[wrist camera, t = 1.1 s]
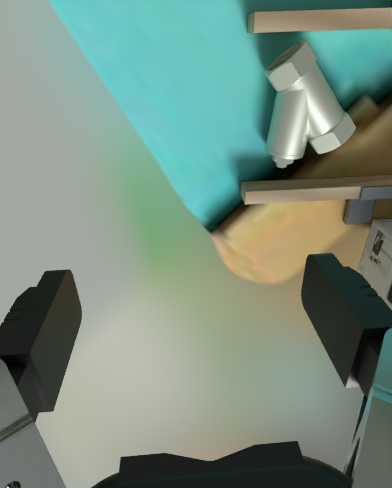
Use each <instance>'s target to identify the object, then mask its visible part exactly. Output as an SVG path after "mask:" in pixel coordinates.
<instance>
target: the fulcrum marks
mask: <svg viewBox="0 0 392 488" xmlns="http://www.w3.org/2000/svg"><path fill="white" fill-rule="evenodd" d="M390 8H392V2H391V6H390ZM376 199H392V185H382V186H362V188H361V193H360V197H359V199H348V200H347V205H346V209H345V214H344V218H343V222H344V223H345V224H346V225H350V224H370V220H371V216H372V212H373V209H374V205H375V201H376Z"/></svg>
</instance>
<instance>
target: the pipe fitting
mask: <svg viewBox="0 0 392 488" xmlns="http://www.w3.org/2000/svg"><path fill="white" fill-rule="evenodd" d="M316 61H317V58H316V56H315V54H314V52H313V50H312V49H311V47H310V45H309V43H307V42H306V41H304V40H303V41H300V42H297V43H296V44H294V45H292V46H291V47H289V48H288V49H287V50H285V51H284V52H283V53H281V54H280V55H279V56H278V57H277V58H276V59H275V60H274V61H273V62H272V63H271V64H270V65H269V66H268V67H267V69H266V70H265V72H264V74H265V75H266V77H267V78H268V80H269V81H270V83H271V85H272V86H273V87H274V89H275V90H276V91H277V95H276V99H275V104H274V109H273V114H272V119H271V124H270V129H269V134H268V138H267V143H266V148H265V151H266V152H267V153H268V154H270V155H272V160H273V161H274V162H276V166H277V167H279V168H285V167H286V166H287V164H291V163H293V161H294V159H300V158H302V157H303V155H304V151H305V147H306V144H307V140H308V141H309V143H310V144H311V146H312V147H313V148H314V150H315V151H316V152H317V153H318V154H322V153H326V152H329V151H332V150H334V149H336V148H337V147H339V146H341V145H342V144H343V143H345V142H346V141H347V140H348V139H349V138H350V137H351V135H352V134H353V132H354V131H355V129H356V127H355V125H354V123H353V122H352V120H351V118H350V116H349V115H348V114H347V113H346V112H345V111H343V109H342V108H341V106H340V104H339V102H338V101H337V99H336V97H335V95H334V93H333V92H332V90H331V88H330V86H329V85H328V83H327V81H326V79H325V78H324V76H323V74H322V72H321V71H320V69H319V67H318V65H317V64H316Z"/></svg>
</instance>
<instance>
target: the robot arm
mask: <svg viewBox="0 0 392 488" xmlns="http://www.w3.org/2000/svg"><path fill="white" fill-rule="evenodd" d="M301 297H302V303H303V307H304V309H305V311H306V312H307V315H308V317H309V318H310V320H311V322H312V324H313V326H314V328H315V330H316V332H317V334H318V336H319V338H320V340H321V342H322V344H323V346H324V347H325V349H326V351H327V353H328V355H329V357H330V359H331V361H332V363H333V365H334V367H335V368H336V370H337V372H338V374H339V376H340V378H341V380H342V382H343V384H344V386H345V388H351V387H360V388H361V389H362V391H363V393H364V395H363V398H362V401H361V404H360V409H359V413H358V416H357V420H356V424H355V428H354V432H353V436H352V440H351V444H350V448H349V451H348V456H347V459H346V462H345V465H344V468H343V472H341V471H339V470H337V469H336V468H334V467H332V466H330V465H328V464H326V463H324V462H321V461H319V460H316V459H313V458H310V457H306V456H302V454H301V450H300V447H299V445H298V441H292V442H281V443H270V444H259V445H254V446H251V447H248V448H246V449H243V450H240V451H238V452H236V453H233V454H230V455H228V456H225V457H223V458H220V459H218V460H214V461H204V460H199V459H193V458H189V457H183V456H178V455H173V454H167V453H161V454H150V455H138V456H128V457H121V460H120V469H119V473H116V474H114V475H111V476H109V477H108V478H106V479H104V480H102V481H100V482H99V483H97V484H96V485H95V486H93V487H91V488H392V310H391V309H390V307H389V306H388V305H387V304H386V303H385V302H384V300H383V299H382V298H381V297H380V296H378V293H377V292H376V291H375V290H374V289H373V288H371V285H370V284H369V283H368V281H367V280H366V279H365V278H364V277H363V275H361V274H360V273H358V272H357V271H355V270H353V269H351V268H350V267H343V266H342V264H341V263H340V262H339V261H338V259H337V258H336V257H335V256H334V255H333V254H332V253H325V254H310V255H308V257H307V260H306V265H305V271H304V277H303V283H302V290H301ZM81 318H82V310H81V304H80V300H79V296H78V292H77V289H76V285H75V281H74V278H73V274H72V272H71V270H54V271H45V272H44V274H43V276H42V278H41V280H40V281H39V283H38V285H37V287H30V288H28V289H27V290H26V291H25V292H23V293H22V294H21V295H20V296H19V297H17V299H16V300H15V302H14V304H13V306H12V307H11V309H10V312H8V314H7V316H6V317H5V319H4V322H2V324H1V326H0V488H66V486H65V484H64V482H63V480H62V478H61V476H60V474H59V472H58V470H57V468H56V466H55V464H54V462H53V460H52V458H51V456H50V454H49V452H48V450H47V448H46V445H45V443H44V441H43V439H42V437H41V435H40V433H39V431H38V429H37V427H36V425H35V422H36V419H37V416H38V413H39V412H51V411H53V410H54V407H55V404H56V401H57V397H58V394H59V391H60V388H61V385H62V381H63V378H64V375H65V372H66V369H67V365H68V362H69V359H70V356H71V353H72V350H73V346H74V343H75V340H76V337H77V334H78V330H79V327H80V324H81Z"/></svg>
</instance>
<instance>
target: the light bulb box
mask: <svg viewBox="0 0 392 488" xmlns="http://www.w3.org/2000/svg"><path fill="white" fill-rule="evenodd" d="M358 270H359V271H360V273H361V274H362V275H363V276H364V278H365V279H366V280H367V281H368V282H369V284H370V285H371V286H372V287H373V288H374V290H375V291H376V292H377V293H378V294H379V296H380V297H381V298H382V299H383V300H384V302H385V303H386V304H387V305H388V306H389V307H390V309H391V310H392V219H375V220H373V222H372V225H371V228H370V231H369V235H368V238H367V241H366V244H365V248H364V251H363V254H362V257H361V261H360V264H359V267H358Z"/></svg>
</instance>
